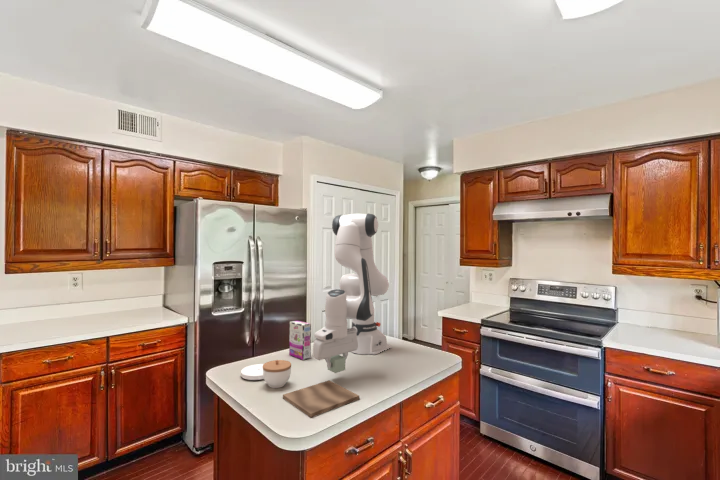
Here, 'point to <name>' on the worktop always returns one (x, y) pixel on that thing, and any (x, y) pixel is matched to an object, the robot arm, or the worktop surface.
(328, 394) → the cutting board
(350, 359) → the worktop surface
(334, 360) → the sage cube
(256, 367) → the white gear
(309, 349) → the candy bar box
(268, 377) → the lidded jar
